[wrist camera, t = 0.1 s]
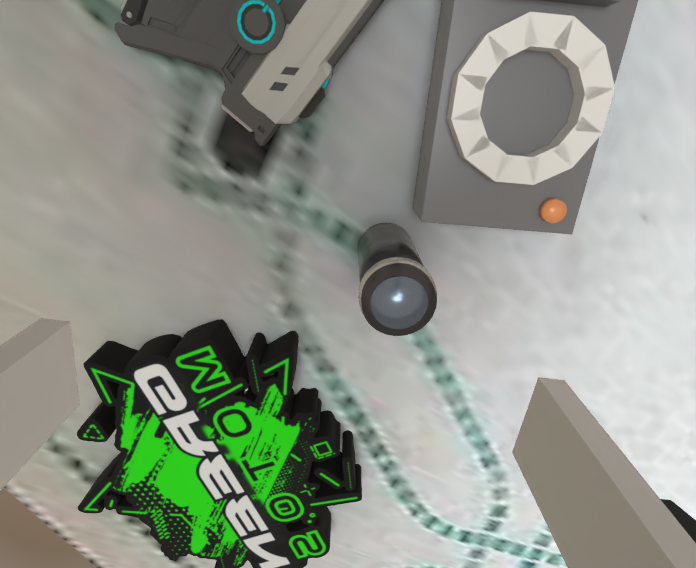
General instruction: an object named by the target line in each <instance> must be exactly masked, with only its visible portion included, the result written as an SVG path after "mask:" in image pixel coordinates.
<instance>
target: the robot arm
mask: <svg viewBox="0 0 696 568" xmlns="http://www.w3.org/2000/svg"><path fill="white" fill-rule="evenodd" d="M79 405H80V403H79V394H78V386H77V377H76V368H75V359H74V350H73V341H72V332H71V324H70V322H69V321H60V320H52V319H43V318H41V319H40V320H38V321H37V322H35V323H34V324H32V325H31V326H29V327H28V328H26V329H25V330H23V331H22V332H20V333H19V334H17V335H16V336H14V337H13V338H11V339H10V340H8V341H7V342H5V343H4V344H2V345H1V346H0V491H1V490H2V488H3V487H4V486H5V485H6V484H7V483H8V482H9V481H10V480H11V479H12V478H13V477H14V475H15V474H16V473H17V472H18V471H19V470H20V469H21V468H22V467H23V466H24V465H25V464H26V462H27V461H28V460H29V459H30V458H31V457H32V456H33V455H34V454H35V453H36V452H37V451H38V449H39V448H40V447H41V446H42V445H43V444H44V443H45V442H46V441H47V440H48V439H49V438H50V436H51V435H52V434H53V433H54V432H55V431H56V430H57V429H58V428H59V427H60V426H61V424H62V423H63V422H64V421H65V420H66V419H67V418H68V417H69V416H70V415H71V414H72V413H73V411H74V410H75V409H76V408H77V407H78V406H79ZM512 453H513V455H514V457H515V459H516V461H517V463H518V465H519V467H520V469H521V471H522V473H523V476H524V478H525V480H526V482H527V484H528V486H529V488H530V490H531V492H532V494H533V496H534V498H535V500H536V503H537V505H538V507H539V509H540V511H541V513H542V515H543V517H544V519H545V521H546V523H547V525H548V528H549V530H550V532H551V534H552V536H553V538H554V540H555V542H556V544H557V546H558V548H559V550H560V552H561V555H562V557H563V559H564V561H565V563H566V565H567V567H568V568H696V520H695V519H693V518H692V517H691V516H690V515H688V514H687V513H686V512H685V511H683V510H682V509H681V508H680V507H679V506H677V505H676V504H675V503H674V502H672V501H671V500H664V499H660V498H659V497H658V496H657V495H656V493H655V492H654V491H653V490H652V488H651V487H650V486H649V485H648V483H647V482H646V481H645V480H644V478H643V477H642V476H641V475H640V474H639V472H638V471H637V470H636V469H635V467H634V466H633V465H632V464H631V462H630V461H629V460H628V459H627V457H626V456H625V455H624V454H623V452H622V451H621V450H620V449H619V447H618V446H617V445H616V444H615V442H614V441H613V440H612V439H611V438H610V436H609V435H608V434H607V433H606V431H605V430H604V429H603V428H602V426H601V425H600V424H599V423H598V421H597V420H596V419H595V418H594V416H593V415H592V414H591V413H590V411H589V410H588V409H587V408H586V406H585V405H584V404H583V403H582V402H581V400H580V399H579V398H578V397H577V395H576V394H575V393H574V392H573V390H572V389H571V388H570V387H569V385H568V384H567V383H566V382H565V380H558V379H549V378H541V377H538V380H537V383H536V386H535V389H534V392H533V395H532V397H531V400H530V403H529V406H528V409H527V412H526V415H525V417H524V420H523V423H522V426H521V429H520V432H519V435H518V437H517V440H516V443H515V446H514V449H513V452H512Z"/></svg>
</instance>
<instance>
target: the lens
mask: <svg viewBox="0 0 696 568" xmlns="http://www.w3.org/2000/svg"><path fill="white" fill-rule="evenodd" d="M358 259H359V274H360V286H359V304H360V308H361V310H362V313H363V314H364V316H365V318H366V320H367V321H368V323H369V324H370V325H371V326H372V327H373V328H375V329H376V330H378V331H380V332H382V333H384V334H387V335H393V336H402V335H408V334H411V333H414V332H416V331H418V330H419V329H421V328H422V327H424V326H425V325H426V324H427V323H428V322H429V320H430V319H431V318H432V316H433V314H434V312H435V309H436V304H437V291H436V286H435V283H434V281H433V279H432V277H431V275H430V273H429V272H428V271H427V269H426V268H425V267H424V266H423V264H422V262H421V260H420V257H419V255H418V253H417V251H416V249H415V247H414V245H413V243H412V241H411V239H410V237H409V235H408V234H407V232H406V231H405V230H404V229H402V228H401V227H399V226H397V225H395V224H391V223H380V224H377V225H374V226H372V227H370V228H369V229H368V230H367V231H366V232H365V233H364V234H363V235H362V237H361V239H360V241H359V245H358Z"/></svg>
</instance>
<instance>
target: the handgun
mask: <svg viewBox="0 0 696 568" xmlns="http://www.w3.org/2000/svg"><path fill="white" fill-rule="evenodd" d="M383 1H384V0H124V1H123V3H122V6H121V9H122V10H123V11H122V14H121V17H122V21H123V22H125V23H127V24H128V25H130V26H126V25H124V24H121V23H119V22H118V23H116V24H115V31H116V32H117V34H118V36H119V37H120V39H121V41H122V42H123V43H124V44H125V45H127V46H130V47H134V48H139V49H143V50H147V51H151V52H155V53H159V54H163V55H167V56H170V57H174V58H178V59H181V60H184V61H188V62H191V63H195V64H198V65H202V66H205V67H208V68H212V69H215V70H217V71H219V72H221V74H222V76H223V79H224V83H225V91H224V94H223V96H222V104H221V108H222V109H224V110H225V111H226V112H227V113H228V114H229V115H231V116H232V117H233V118H234V119H235V120H237V121H238V122H239V123H240V124H241V125H242V126H244V127H245V128H246V129H247V130H248V131H250V132H253V131H254V132H255V140H256V141H257V143H258V144H259V145H260V146H263V145H265V144H266V143H268V141H269V140H270V139H271V138H272V136H273V135H274V134H275V132H276V131H277V130H278V128H279V127H280V126H281V124H291V123H295V122H296V121H297V120H298V119H299V118H305V117H309V116H310V115H311V114H312V112H313V111H314V110H315V108H316V107H317V106H318V104H319V103H320V102H321V100H322V99H323V98H324V97H325V93H324V88H325V87H326V86H327V84H328V83H329V81H328V80H329V79H330V78H331V76H332V69H333V67H334V66H335V64H336V63H337V62H338V60H339V59H340V58H341V56H342V55H343V54H344V52H345V51H346V50H347V49H348V47H349V46H350V45H351V43H352V42H353V41H354V39H355V38H356V37H357V35H358V34H359V33H360V31H361V30H362V29H363V27H364V26H365V25H366V23H367V22H368V21H369V19H370V18H371V17H372V15H373V14H374V13H375V11H376V10H377V9H378V7H379V6H380V5H381V3H382V2H383Z"/></svg>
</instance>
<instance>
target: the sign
mask: <svg viewBox="0 0 696 568" xmlns="http://www.w3.org/2000/svg"><path fill="white" fill-rule="evenodd" d="M297 351H298V334H297V333H296V332H295V331H291V332H289V333H287V334H285V335H283V336H282V337H280V338H278V339H277V340H275V341H273V342H271V343H269V344H267V343H266V338H265V336H264V335H263V334H262V333H256V335H255V337H254V339H253V342H252V344H251V347H250V349H249V351H248V354H247V356H245V357H244V356H243V354H242V352H241V350H240V348H239V346H238V344H237V343H236V341H235V339H234V337H233V335H232V333H231V332H230V330H229V328H228V326H227V324H226V323H225V321H224V320H222V319H220V320H215V321H212V322H209V323H206V324H203V325H201V326H198V327H196V328H194V329H191V330H190V331H188V332H187V333H186V334H185V335H184V337H183V338H182V337H180V336H178V335H174V334H168V335H163V336H159V337H157V338H154V339H152V340H150V341H148V342H146V343H145V344H144V345H143V347H142V348H141V349H140V350H139V351H138V350H135V349H132V348H129V347H127V346H124V345H122V344H119V343H117V342H114V341H107V342H106V343H105V344H104V345H103V346H102V347H101V348H99V349H98V350H97V351H96V352H95V353H94V354H93V355H92V356H91V357H90V358H89V359H88V360H87V361H86V362H85V363H84V368H85V370H86V371H87V373H88V375H89V377H90V378H91V380H92V382H93V384H94V386H95V388H96V390H97V392H98V394H99V396H100V398H101V400H102V403H101V404H100V405H99V406H98V407H97V408H96V410H95V411H94V412H93V413H92V414H91V415H90V417H89V418H88V419H87V420H86V421H85V422H84V424H83V425H82V426H81V427H80V429H79V430H78V432H77V436H78V437H79V439H81V440H85V441H94V442H105V441H107V440H108V438H109V437H110V436H111V434H112V433H113V432H114V430H115V429H117V431H116V435H115V443H114V445H115V447H116V448H117V450H119V451H121V453H120V454H119V455H118V456H117V457H116V458H115V459H114V460H113V461H112V462H111V463H110V465H109V466H108V467H107V468H106V469H105V470H104V471H103V472H102V474H101V475H100V476H99V477H98V479H97V480H96V482H95V483H94V484H93V486H92V487H91V489H90V490H89V492H88V493H87V495H86V496H85V497H84V499H83V500H82V502H81V503H80V505H79V506H78V510H79V511H81V512H84V513H100V512H102V511H103V509H104V507H105V508H106V509H108V510H112V509H116V511H117V513H118V514H120V515H128V516H133V517H136V518H139V519H140V520H141V521H142V522H143V523H145V524H146V525H148V526H149V527H150V528H151V531H150V534H151V535H152V536H153V537H154V538H155V539H156V540H157V541H158V542H159V543H160V544H162V547H161V551H162V552H164V555H165V556H167V557H168V558H169V559H170V560H174V561H177V559H178V558H179V557H180V556H187V554H191V555H193V556H198V557H199V558H207V559H215V560H217V561H216V565H215V568H240V567H242V566H243V565H244V564H245V562H246V561H247V560H248V561H250V563H251V565H252V567H253V568H303V567H305V566H306V565H307V561H308V559H309V558H319V557H322V556H324V555H325V554H327V553H328V551H329V549H330V529H331V513H330V511H329V509H328V508H327V506H331V505H337V504H344V503H350V502H357V501H360V500H361V499H362V486H361V466H360V465H358V464H355V452H354V445H353V434H352V432H351V431H348V430H347V431H345V432H343V445H342V453H341V452H340V423H339V422H338V421H336V419H335V417H334V415H333V413H332V412H331V411H322V412H321V400H320V399H318V390H317V389H316V388H312V389H305V388H302V389H301V390H300V391H299V392H298V394H297V395H294V390H293V389H292V384H293V379H294V375H295V370H296V364H297Z"/></svg>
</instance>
